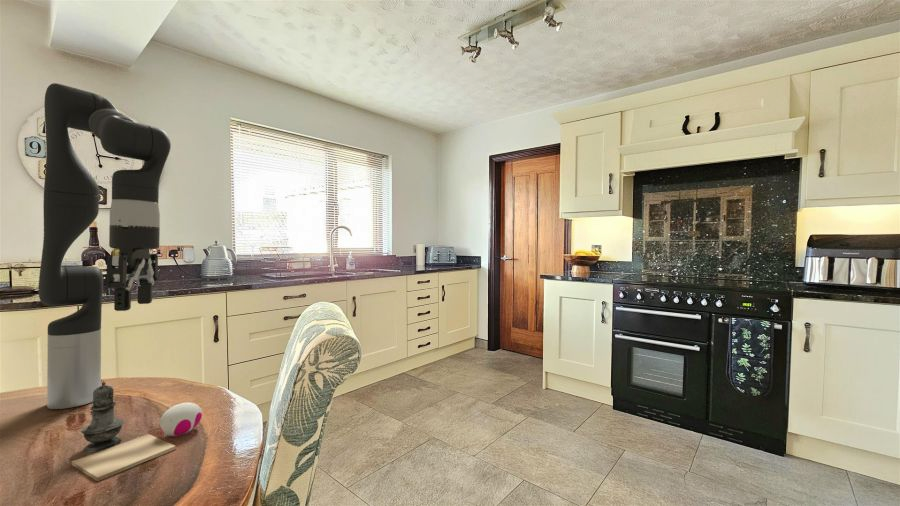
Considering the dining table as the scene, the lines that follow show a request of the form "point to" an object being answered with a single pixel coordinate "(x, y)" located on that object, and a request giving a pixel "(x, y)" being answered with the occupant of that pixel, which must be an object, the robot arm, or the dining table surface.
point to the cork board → (122, 456)
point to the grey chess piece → (102, 421)
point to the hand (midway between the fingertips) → (134, 306)
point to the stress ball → (180, 419)
